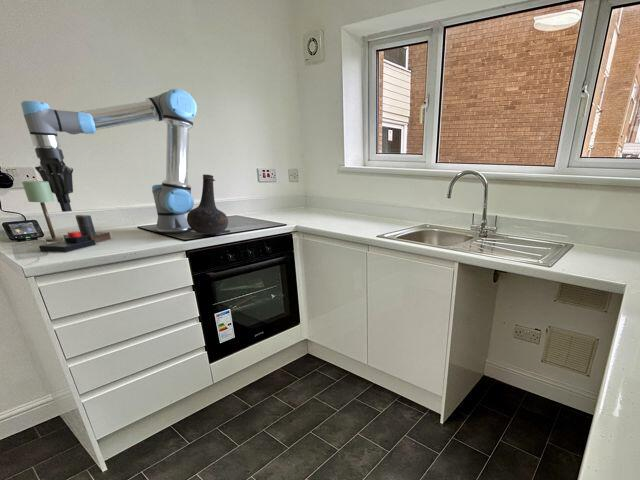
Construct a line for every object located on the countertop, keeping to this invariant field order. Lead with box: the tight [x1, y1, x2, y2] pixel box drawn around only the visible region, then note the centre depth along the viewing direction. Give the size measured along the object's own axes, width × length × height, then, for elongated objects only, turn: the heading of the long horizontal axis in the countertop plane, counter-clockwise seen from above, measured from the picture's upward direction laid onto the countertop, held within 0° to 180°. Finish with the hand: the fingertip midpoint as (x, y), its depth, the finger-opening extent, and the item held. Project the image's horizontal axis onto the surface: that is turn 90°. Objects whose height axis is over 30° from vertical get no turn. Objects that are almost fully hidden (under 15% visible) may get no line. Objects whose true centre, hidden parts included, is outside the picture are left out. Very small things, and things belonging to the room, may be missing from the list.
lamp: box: [21, 180, 64, 243], centre depth 133 cm, size 7×7×22 cm
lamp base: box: [38, 235, 97, 253], centre depth 142 cm, size 10×14×4 cm
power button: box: [67, 230, 81, 237], centre depth 145 cm, size 4×4×2 cm
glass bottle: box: [186, 173, 229, 235], centre depth 170 cm, size 18×18×28 cm
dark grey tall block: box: [75, 214, 96, 236], centre depth 152 cm, size 5×5×8 cm
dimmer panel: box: [63, 231, 112, 244], centre depth 155 cm, size 13×11×3 cm
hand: (67, 211), depth 141 cm, fingers closed
